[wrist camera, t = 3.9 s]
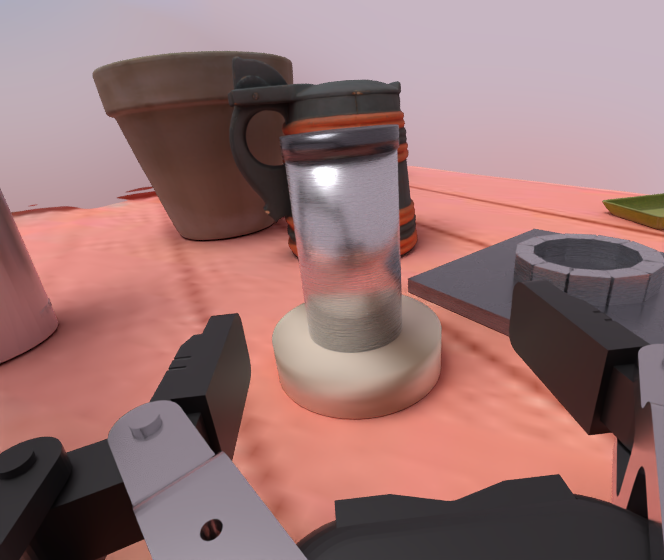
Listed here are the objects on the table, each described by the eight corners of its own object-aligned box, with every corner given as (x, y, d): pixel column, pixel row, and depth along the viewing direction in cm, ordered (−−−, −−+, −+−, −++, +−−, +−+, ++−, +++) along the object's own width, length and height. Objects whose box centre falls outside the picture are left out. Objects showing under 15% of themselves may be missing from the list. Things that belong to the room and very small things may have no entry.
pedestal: (336, 451, 18) (330, 409, 17) (253, 356, 26) (246, 323, 25) (477, 365, 22) (479, 328, 21) (370, 307, 30) (369, 278, 29)
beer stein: (271, 292, 35) (225, 37, 27) (243, 249, 48) (207, 67, 40) (444, 249, 41) (448, 29, 33) (378, 221, 53) (370, 58, 46)
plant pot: (241, 203, 75) (218, 80, 67) (342, 211, 61) (328, 55, 52) (113, 241, 58) (58, 80, 49) (211, 265, 43) (158, 43, 35)
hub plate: (677, 410, 18) (696, 352, 17) (408, 291, 32) (407, 256, 31) (784, 292, 26) (802, 248, 25) (533, 239, 41) (537, 210, 39)
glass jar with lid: (342, 367, 19) (318, 137, 15) (290, 324, 24) (260, 138, 20) (425, 327, 22) (424, 122, 18) (363, 295, 27) (351, 126, 22)
